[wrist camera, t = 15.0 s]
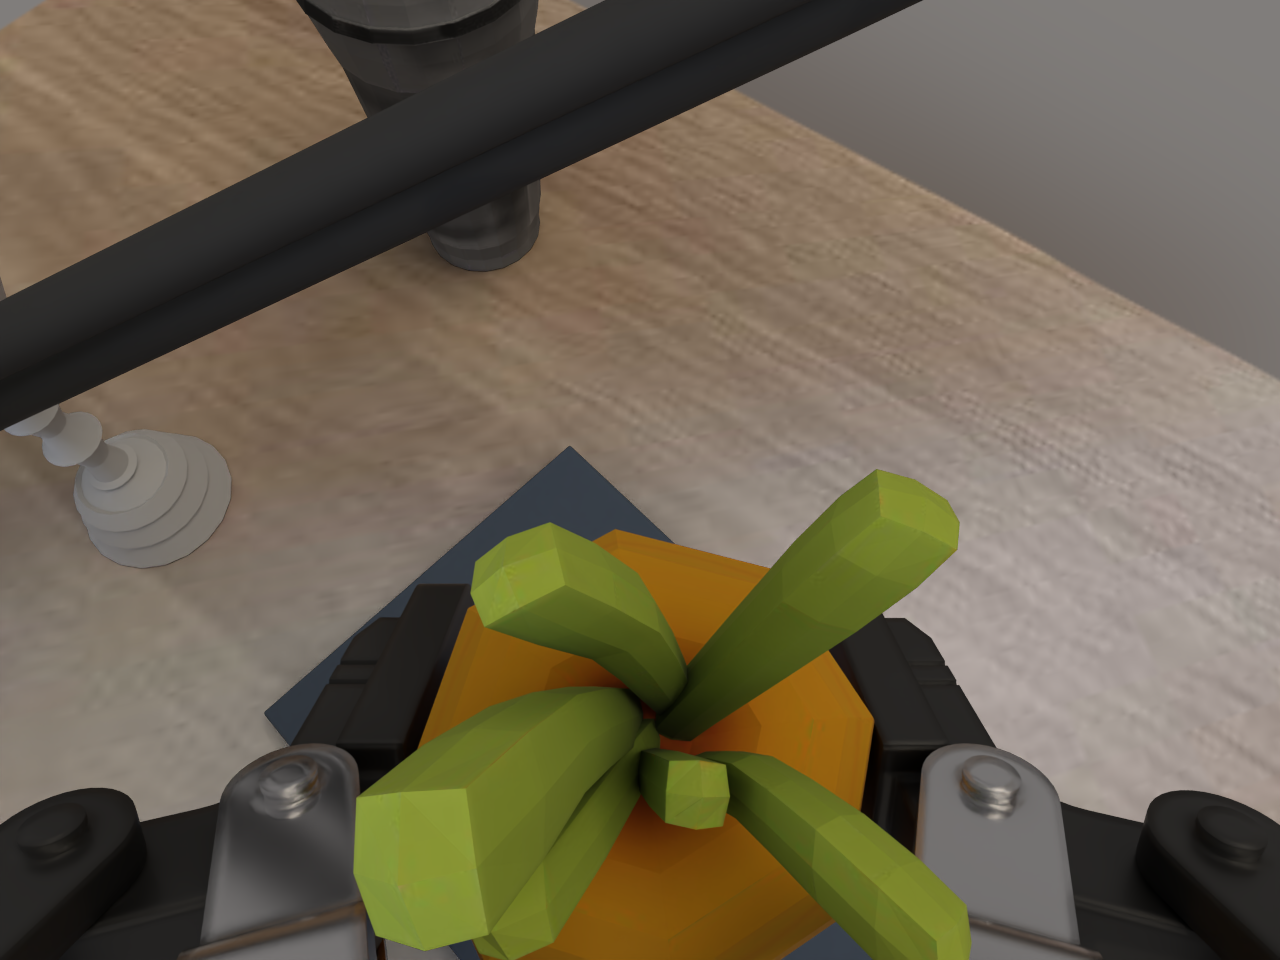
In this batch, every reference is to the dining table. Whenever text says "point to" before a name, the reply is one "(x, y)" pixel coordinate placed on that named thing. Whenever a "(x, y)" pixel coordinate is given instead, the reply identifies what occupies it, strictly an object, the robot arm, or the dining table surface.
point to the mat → (550, 496)
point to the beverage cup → (418, 58)
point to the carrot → (661, 754)
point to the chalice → (136, 485)
